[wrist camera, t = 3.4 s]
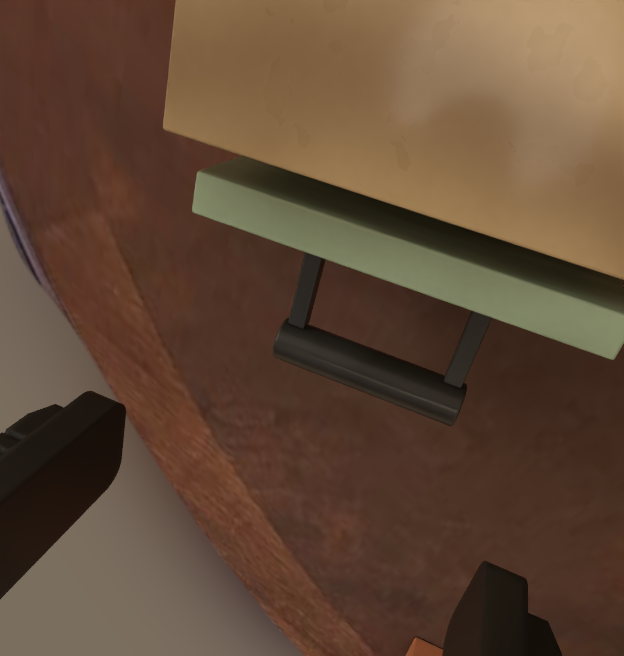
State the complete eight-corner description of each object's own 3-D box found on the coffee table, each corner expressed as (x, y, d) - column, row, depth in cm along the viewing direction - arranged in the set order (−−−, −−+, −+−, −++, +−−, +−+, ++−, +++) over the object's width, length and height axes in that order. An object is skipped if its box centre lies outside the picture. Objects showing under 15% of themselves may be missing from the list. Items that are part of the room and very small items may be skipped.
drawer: (526, 380, 23) (526, 512, 17) (265, 284, 25) (169, 366, 19) (835, -235, 14) (1114, -500, 8) (390, -306, 16) (293, -563, 10)
